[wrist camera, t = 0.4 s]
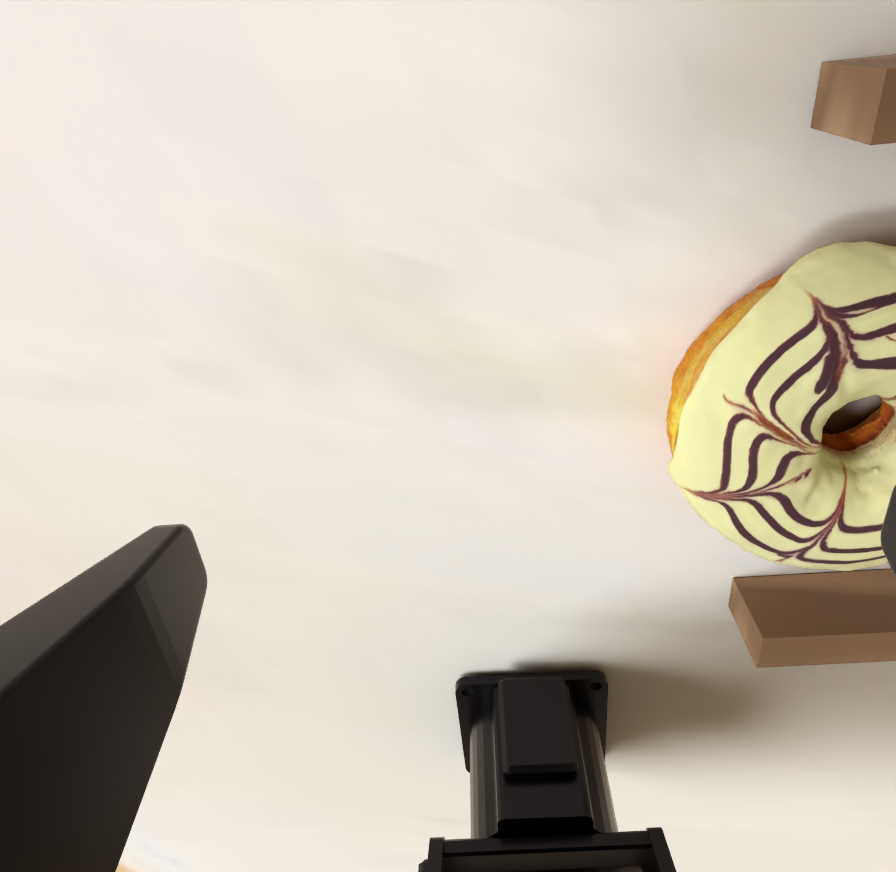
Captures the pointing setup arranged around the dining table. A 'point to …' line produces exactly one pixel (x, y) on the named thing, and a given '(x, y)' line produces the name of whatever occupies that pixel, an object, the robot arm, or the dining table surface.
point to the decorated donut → (794, 412)
